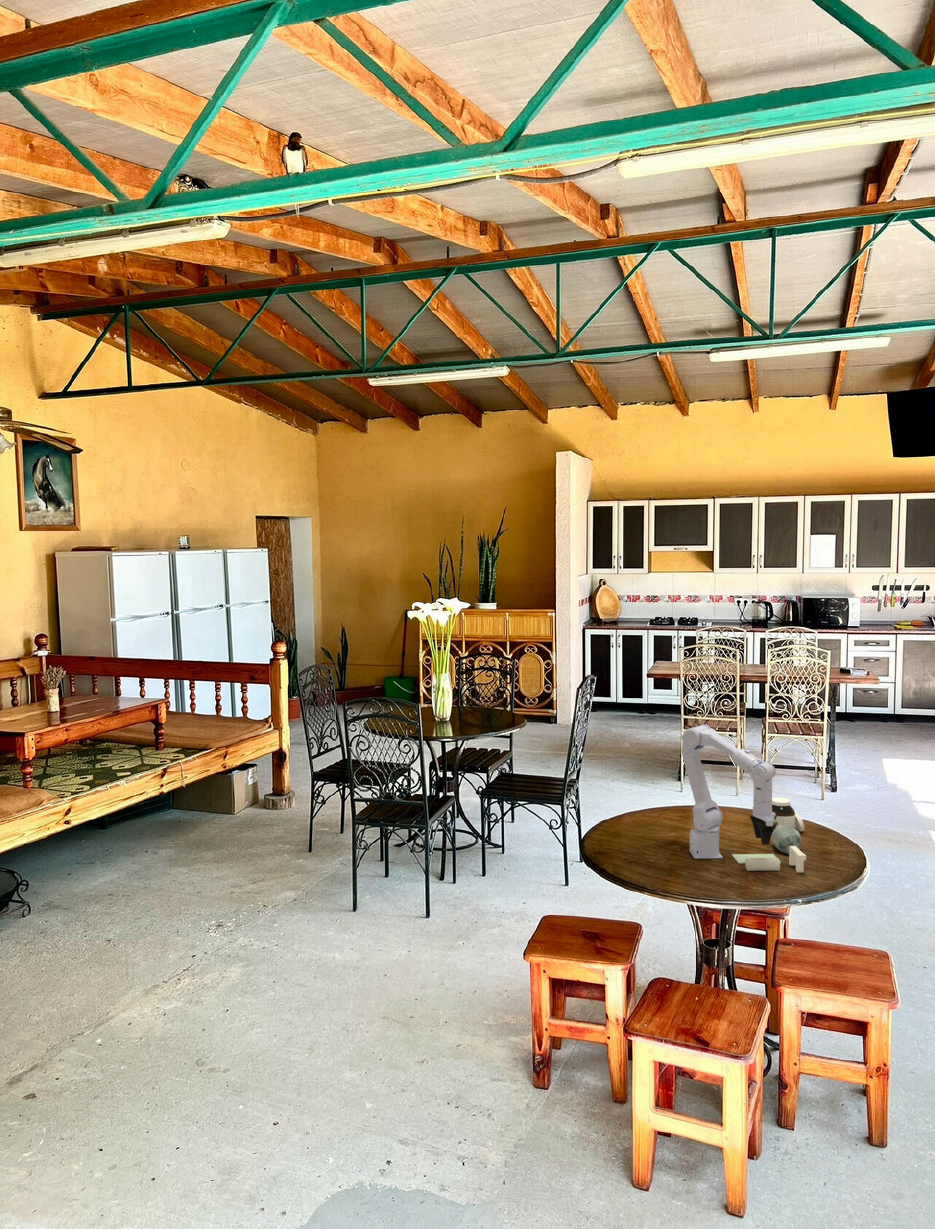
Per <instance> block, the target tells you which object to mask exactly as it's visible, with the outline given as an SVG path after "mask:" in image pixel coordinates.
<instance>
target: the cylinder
mask: <svg viewBox="0 0 935 1229" xmlns="http://www.w3.org/2000/svg"><path fill="white" fill-rule="evenodd" d="M779 860H780V859H779V857H777V858H746V859H745V863H744V866H745V869H746V870H747V871H748V872H758V871H759V872H765V871H769V872H770V871H771V872H772V871H773V872H774V871H778V872H779V871H780V870H781V863H780V862H781V860H780V861H779Z"/></svg>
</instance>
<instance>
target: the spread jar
mask: <svg viewBox="0 0 935 1229" xmlns="http://www.w3.org/2000/svg"><path fill="white" fill-rule="evenodd" d="M772 812H774V813H775V814H776V816H773V817H772V820H773V823H775V824H776V827H777V826H778V825H789V826H791V827H793V828H795V829H796V830H797V831H798V832H799V833H800V832H804V831H805V828H806V827H805V824H804V821H803V820H802V817H801V816H800V814H798V813H797V812H795V810H794V808H793V807H792V806H791V800H790V798H786V797H779V796H777V797H772Z"/></svg>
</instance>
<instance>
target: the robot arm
mask: <svg viewBox="0 0 935 1229" xmlns="http://www.w3.org/2000/svg"><path fill="white" fill-rule="evenodd" d="M681 741H682V743H681V744H682V745H681V756H682V759H683V762H684V767H685V771H686V774H687V777H688V780H689V783H690V784H689V785H690V788H691V791H692V795H693V799H694V806H693V808H692V814H693V817H692V818H693V819H692V820H693V825H694V827H695V828H693V829H690V831H689V853H690V854H691V855H692V857H693V859H724V858H723V855H722V854H721V853H720V825H722V823H723V822H724V820H723V819H724V816H723V813H722V811H721V810H720V808H719V807H718V806H719V805H718V804H717V802H715V800H713V799H712V796H711V793H710V789H709V786H708V782H707V779H706V775H705V772H704V769H703V766H702V761H701V758H700V755H699V754H700V753H701V751H702V750H703V748H704V747H707V746H708V747H709V746H710V747H714V748H716V749H717V750H719V751H720V752H722V753H724V754H726V755H727V756H729V757H730V758H732V761H733V764H735V765H736V766H737V767H738V768H740V769H742V770H743V771H745V772H746V773H748V774H749V775H750V778H751V779H752V782H753V783H752V784H753V803H752V804H753V806H752V815H749V818H750V821H751V823H752V826H753V830H754V834H755V838H756V839H760V840H761V845H762V846H763V845H766V846H769V845H770V842H771V840H772V834H773V831H774V829H775V828H776V824H775V823H773V820H772V817H773V816H776V814H775V813H774V812H772V798H773V778H774V777H775V776H776V768H775V766H774V765H773V764H772V763H771V762H770V761H768V760H767V761H763V759H761V758H759V757H757V756H755V755H754V754H753V753H751V750H749V749H744V748H741V749H740V748H737V747H736V746H735V745H733V744H732V743H730V742H729V741H728V740H726V739H725V738H724V737H723V736H721V735H720V734H719V733H718V731H716V729H714V728H711V726H709V725H707V724H701V725H697V726H695V727H691V728H687V729H685V731H684V732H683V734H682V735H681Z"/></svg>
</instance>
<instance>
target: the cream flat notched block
mask: <svg viewBox="0 0 935 1229" xmlns="http://www.w3.org/2000/svg"><path fill="white" fill-rule="evenodd" d="M788 855H789V856H788V857H789V858H788V859H789V860H788V864H789V866H795V872H796V873H804V869H805V868H804V867H805V866H804V864H805V863H804V862H805V861H807V855H806V854H805V853H803V852H802V851H801V849H800V850H799V849H798V848H797V847H796V846H789V854H788Z"/></svg>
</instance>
